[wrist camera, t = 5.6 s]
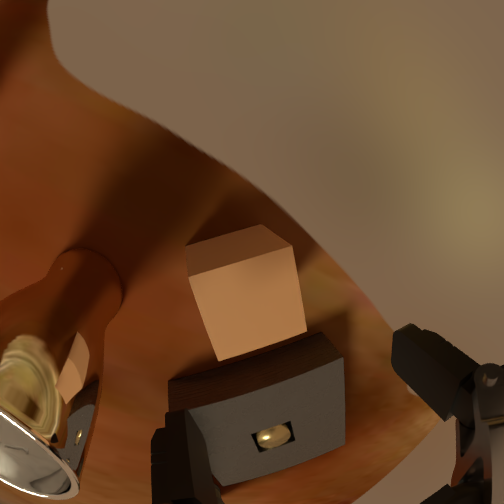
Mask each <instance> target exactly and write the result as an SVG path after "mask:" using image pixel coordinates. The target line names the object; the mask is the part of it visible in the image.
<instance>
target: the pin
mask: <svg viewBox="0 0 504 504" xmlns="http://www.w3.org/2000/svg"><path fill="white" fill-rule="evenodd" d="M255 435H256V438H257V441H258V444H259V445H260V446H261V447H264V448H273V447H277V446H280V445H282V444H283V443H285V442H286V441H287V440H288V439H289V438H290V435H291V433H290V431H289V429H288V427H287V425H286V423H283V424H280V425H277V426H274V427H271V428H268V429H265V430H262V431H259V432H256V433H255Z"/></svg>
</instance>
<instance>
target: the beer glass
mask: <svg viewBox="0 0 504 504" xmlns="http://www.w3.org/2000/svg"><path fill="white" fill-rule="evenodd" d="M121 302H122V285H121V281H120V278H119V276H118V273H117V272H116V270H115V268H114V267H113V266H112V264H111V263H110V262H109V261H108V260H107V259H106V258H104V257H103V256H102V255H100V254H98V253H96V252H94V251H92V250H88V249H72V250H69V251H66V252H64V253H63V254H61V255H60V256H59V257H58V258H57V259H56V260H55V261H54V263H53V264H52V266H51V267H50V269H49V271H48V273H47V275H46V276H45V277H44V278H43V279H41V280H40V281H38V282H36V283H33V284H31V285H29V286H27V287H25V288H23V289H21V290H19V291H17V292H15V293H13V294H11V295H9V296H7V297H6V298H4V299H3V300H1V301H0V480H1V481H3V482H4V483H6V484H8V485H10V486H12V487H14V488H16V489H19V490H21V491H23V492H26V493H29V494H31V495H35V496H38V497H42V498H47V499H55V500H64V499H70V498H73V497H74V496H76V495H77V494H78V492H79V490H80V481H81V476H82V472H83V468H84V465H85V461H86V458H87V455H88V451H89V447H90V443H91V440H92V436H93V432H94V428H95V423H96V419H97V415H98V410H99V404H100V398H101V393H102V382H103V369H104V339H105V330H106V327H107V325H108V324H109V322H110V321H111V320H112V319H113V318H114V317H115V315H116V314H117V312H118V310H119V308H120V306H121Z"/></svg>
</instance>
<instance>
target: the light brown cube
mask: <svg viewBox="0 0 504 504" xmlns="http://www.w3.org/2000/svg"><path fill="white" fill-rule="evenodd" d="M185 248H186V260H187V272H188V279H189V282H190V285H191V288H192V290H193V293H194V296H195V299H196V302H197V305H198V308H199V310H200V313H201V316H202V319H203V322H204V324H205V327H206V330H207V332H208V335H209V338H210V340H211V343H212V346H213V348H214V351H215V353H216V356H217V359H218V361H221V360H225V359H228V358H231V357H234V356H238V355H241V354H244V353H247V352H250V351H253V350H256V349H259V348H262V347H265V346H268V345H271V344H274V343H277V342H279V341H282V340H285V339H288V338H291V337H293V336H296V335H299V334H301V333H304V332H307V328H306V322H305V316H304V309H303V304H302V298H301V292H300V286H299V280H298V275H297V269H296V264H295V258H294V253H293V248H292V245H290V244H289V243H288V242H286V241H285V240H283V239H282V238H281V237H279V236H278V235H276V234H275V233H274V232H272V231H271V230H269V229H268V228H266V227H265V226H264V225H262V224H260V225H256V226H253V227H249V228H246V229H242V230H239V231H235V232H232V233H228V234H225V235H221V236H218V237H214V238H211V239H208V240H204V241H201V242H198V243H194V244H191V245H188V246H185Z"/></svg>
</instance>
